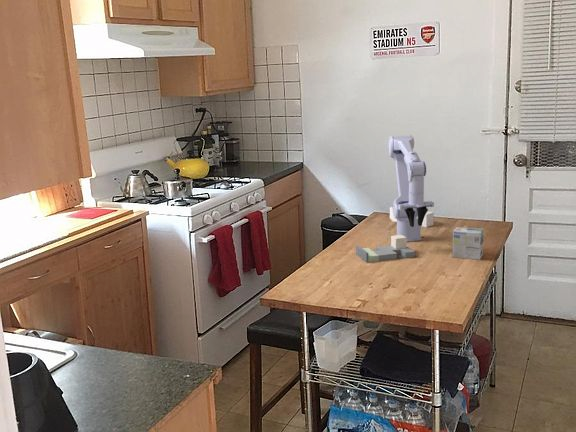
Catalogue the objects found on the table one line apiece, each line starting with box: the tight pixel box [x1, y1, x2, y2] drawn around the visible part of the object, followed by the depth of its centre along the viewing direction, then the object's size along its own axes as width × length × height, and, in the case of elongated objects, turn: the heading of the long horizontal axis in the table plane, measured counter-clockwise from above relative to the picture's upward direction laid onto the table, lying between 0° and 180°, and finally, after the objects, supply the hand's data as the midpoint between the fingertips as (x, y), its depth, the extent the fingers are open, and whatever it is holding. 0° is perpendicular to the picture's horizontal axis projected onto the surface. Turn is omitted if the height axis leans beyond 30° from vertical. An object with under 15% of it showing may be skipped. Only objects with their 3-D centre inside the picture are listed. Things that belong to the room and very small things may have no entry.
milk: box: [389, 206, 435, 228], centre depth 306 cm, size 6×6×22 cm
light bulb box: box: [451, 226, 484, 261], centre depth 254 cm, size 11×7×11 cm, turn 65°
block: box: [390, 234, 407, 249], centre depth 262 cm, size 4×4×4 cm
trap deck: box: [355, 244, 416, 263], centre depth 259 cm, size 20×11×4 cm, turn 105°
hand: (415, 225), depth 263 cm, fingers open, 3 cm apart
